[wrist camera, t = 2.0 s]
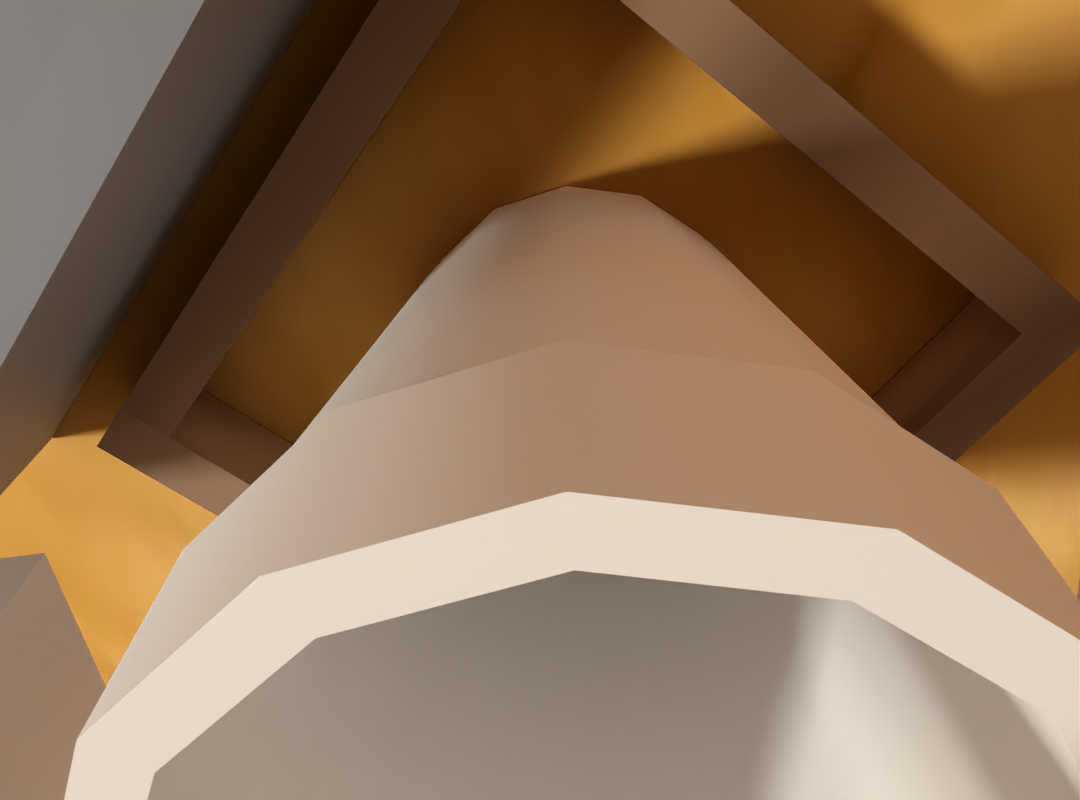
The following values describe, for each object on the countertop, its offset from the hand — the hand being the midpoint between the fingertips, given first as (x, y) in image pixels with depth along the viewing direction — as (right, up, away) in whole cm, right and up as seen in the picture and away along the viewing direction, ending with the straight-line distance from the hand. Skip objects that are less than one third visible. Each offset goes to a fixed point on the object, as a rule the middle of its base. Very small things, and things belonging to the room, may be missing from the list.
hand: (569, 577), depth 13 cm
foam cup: (0, +3, +7) cm, 8 cm away
